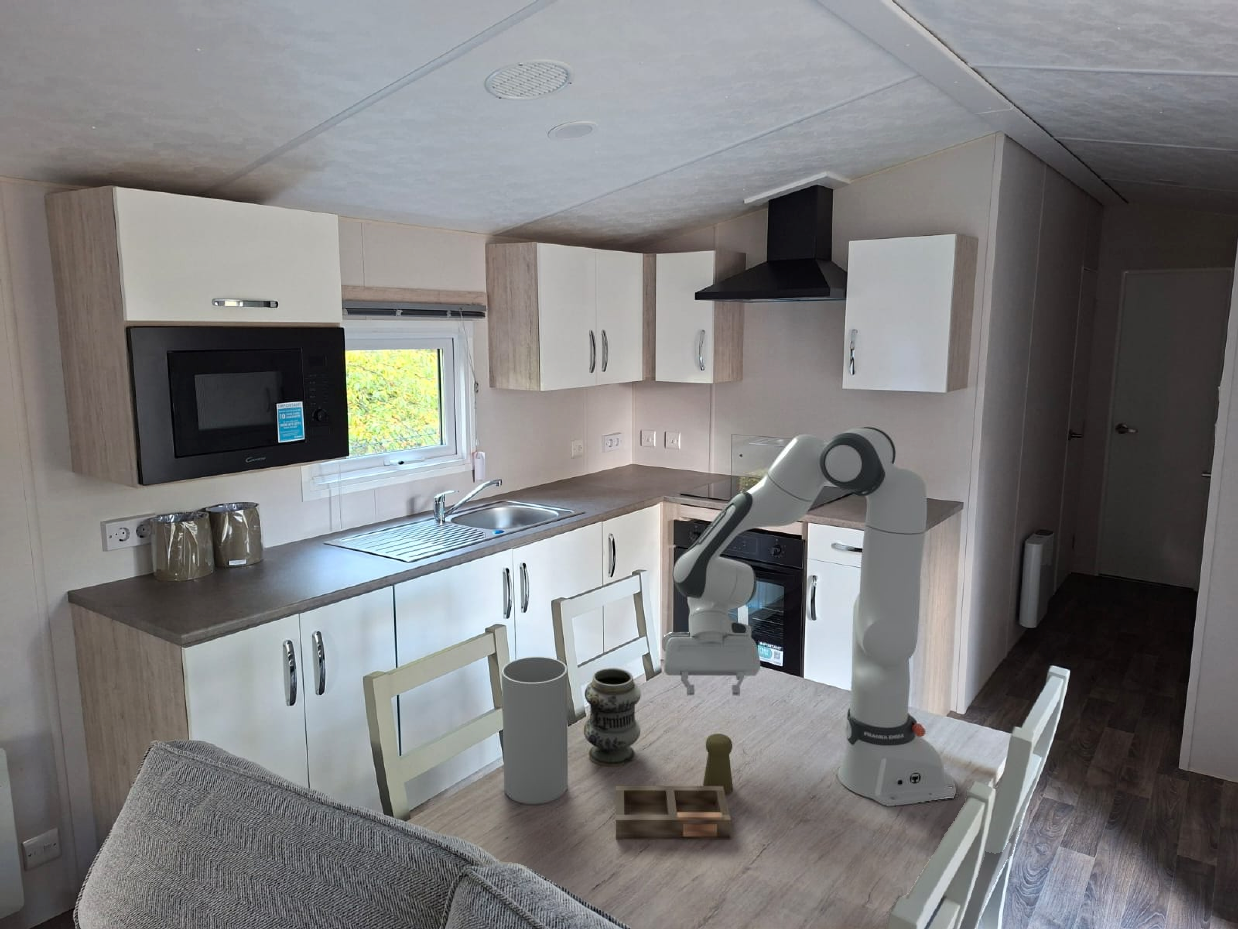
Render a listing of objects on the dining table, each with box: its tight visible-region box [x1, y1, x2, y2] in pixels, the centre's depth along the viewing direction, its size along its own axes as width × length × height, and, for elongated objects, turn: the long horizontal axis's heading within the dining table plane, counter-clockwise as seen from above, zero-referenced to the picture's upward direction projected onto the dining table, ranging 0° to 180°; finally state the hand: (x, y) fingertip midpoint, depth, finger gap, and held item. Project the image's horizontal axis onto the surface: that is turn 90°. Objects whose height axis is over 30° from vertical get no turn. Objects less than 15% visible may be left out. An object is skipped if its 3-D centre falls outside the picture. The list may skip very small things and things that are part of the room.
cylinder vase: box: [501, 656, 569, 805], centre depth 166 cm, size 12×12×25 cm
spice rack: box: [615, 785, 732, 840], centre depth 157 cm, size 20×11×4 cm, turn 90°
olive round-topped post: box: [702, 733, 734, 797], centre depth 168 cm, size 6×6×11 cm
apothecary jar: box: [583, 667, 642, 767], centre depth 180 cm, size 12×12×18 cm
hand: (713, 694), depth 176 cm, fingers open, 8 cm apart
